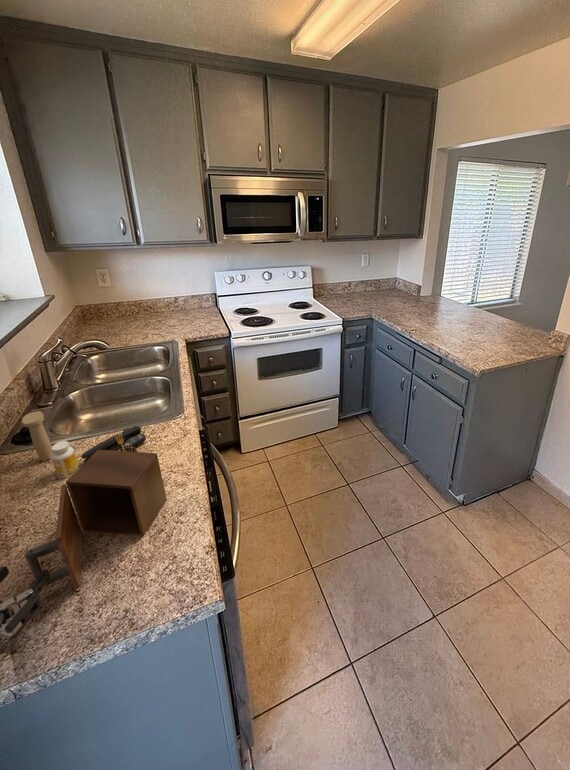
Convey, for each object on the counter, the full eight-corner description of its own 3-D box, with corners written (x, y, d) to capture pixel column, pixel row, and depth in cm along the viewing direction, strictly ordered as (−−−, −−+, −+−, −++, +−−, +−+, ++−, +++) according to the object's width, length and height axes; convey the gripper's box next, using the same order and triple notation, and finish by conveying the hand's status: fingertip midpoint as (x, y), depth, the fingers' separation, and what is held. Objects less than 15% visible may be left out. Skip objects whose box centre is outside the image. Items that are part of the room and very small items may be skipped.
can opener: (140, 433, 121) (137, 419, 119) (148, 443, 117) (145, 429, 115) (80, 458, 110) (75, 443, 108) (86, 470, 105) (81, 455, 103)
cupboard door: (41, 607, 70) (17, 553, 64) (49, 545, 83) (29, 495, 77) (80, 590, 73) (60, 536, 68) (82, 532, 86) (65, 483, 80)
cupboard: (144, 536, 85) (131, 486, 79) (82, 531, 86) (65, 481, 80) (166, 500, 95) (156, 453, 89) (111, 496, 96) (97, 449, 91)
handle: (36, 467, 106) (20, 425, 101) (38, 455, 111) (23, 414, 106) (56, 461, 109) (41, 420, 103) (57, 449, 114) (43, 409, 108)
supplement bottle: (55, 481, 101) (46, 454, 98) (59, 468, 106) (50, 442, 102) (78, 475, 103) (69, 448, 100) (80, 463, 108) (72, 437, 104)
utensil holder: (126, 481, 101) (117, 447, 97) (115, 471, 105) (106, 438, 100) (146, 469, 106) (138, 436, 101) (135, 460, 109) (128, 428, 105)
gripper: (-30, 664, 52) (55, 560, 67) (-118, 655, 53) (-15, 554, 68) (-12, 693, 55) (66, 586, 70) (-97, 683, 56) (-1, 580, 71)
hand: (26, 570), depth 69 cm, fingers open, 8 cm apart
